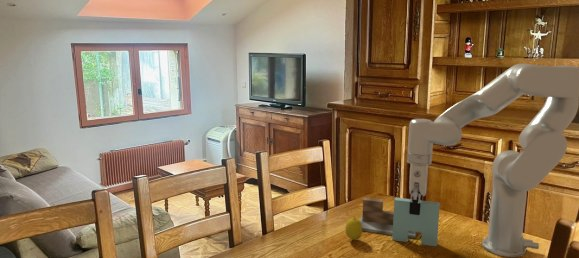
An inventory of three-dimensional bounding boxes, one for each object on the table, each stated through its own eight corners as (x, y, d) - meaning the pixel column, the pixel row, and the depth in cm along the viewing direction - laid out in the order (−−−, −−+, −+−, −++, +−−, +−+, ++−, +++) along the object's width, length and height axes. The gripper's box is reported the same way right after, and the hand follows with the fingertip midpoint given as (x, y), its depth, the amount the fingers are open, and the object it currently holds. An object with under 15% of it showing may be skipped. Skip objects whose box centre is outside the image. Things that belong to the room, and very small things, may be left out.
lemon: (356, 235, 146) (357, 213, 145) (365, 242, 141) (365, 219, 140) (342, 238, 145) (342, 215, 143) (350, 245, 139) (350, 222, 138)
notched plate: (437, 243, 141) (439, 202, 138) (436, 246, 139) (439, 205, 136) (393, 236, 146) (395, 197, 143) (392, 239, 143) (394, 199, 141)
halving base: (418, 221, 158) (419, 198, 156) (415, 238, 144) (416, 213, 143) (363, 214, 165) (364, 191, 163) (355, 229, 151) (356, 205, 149)
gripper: (430, 166, 127) (426, 220, 131) (432, 152, 143) (428, 201, 147) (404, 163, 130) (400, 217, 133) (409, 150, 146) (406, 198, 149)
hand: (415, 208), depth 140 cm, fingers open, 9 cm apart
